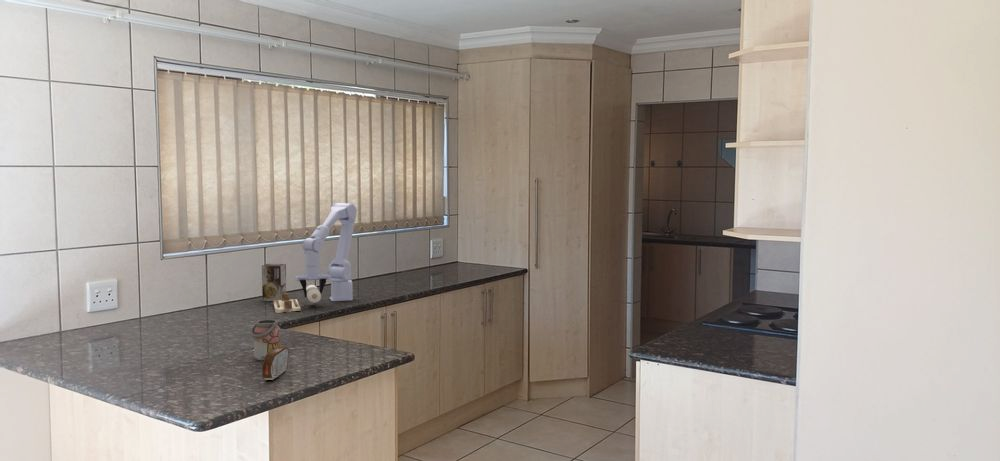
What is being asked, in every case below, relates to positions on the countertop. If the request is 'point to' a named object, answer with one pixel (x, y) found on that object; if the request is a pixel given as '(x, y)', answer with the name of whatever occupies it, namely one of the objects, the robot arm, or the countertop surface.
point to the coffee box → (273, 281)
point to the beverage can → (265, 337)
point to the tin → (275, 361)
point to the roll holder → (286, 304)
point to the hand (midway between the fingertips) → (313, 296)
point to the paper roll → (313, 293)
